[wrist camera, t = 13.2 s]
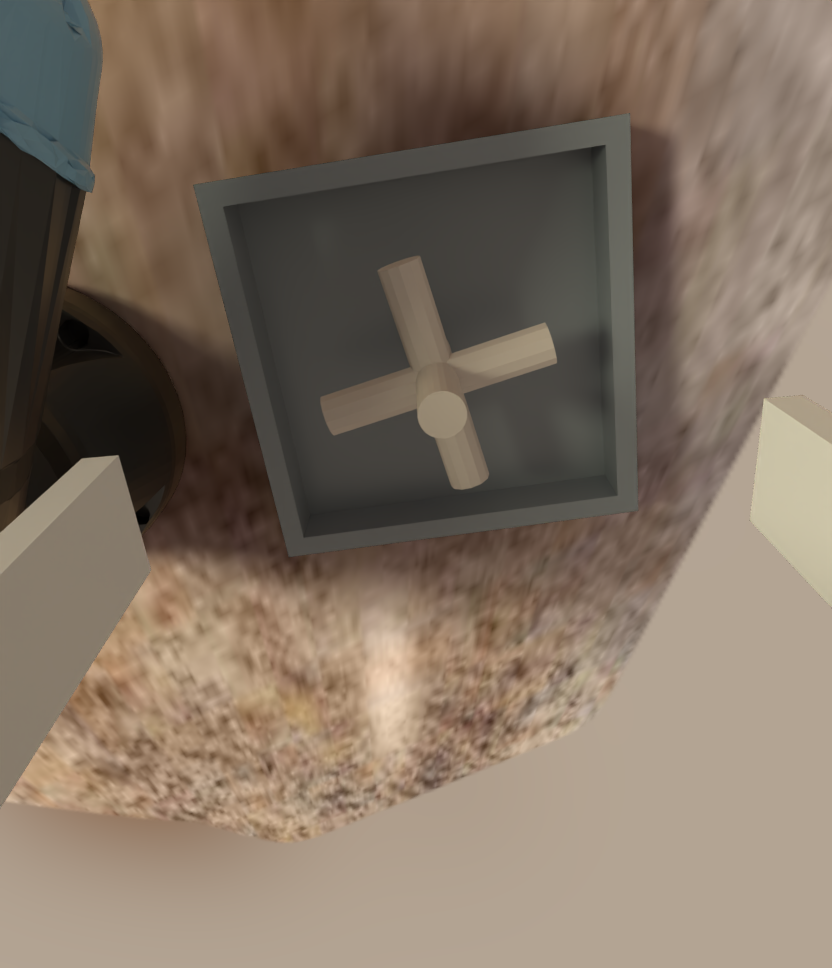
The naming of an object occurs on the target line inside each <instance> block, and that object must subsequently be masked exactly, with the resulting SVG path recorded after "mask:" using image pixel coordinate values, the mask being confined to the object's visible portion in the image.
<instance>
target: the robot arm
mask: <svg viewBox="0 0 832 968" xmlns="http://www.w3.org/2000/svg"><path fill="white" fill-rule="evenodd" d="M102 62H103V52H102V41H101V35H100V31H99V27H98V24H97V21H96V19H95V16H94V13H93V11H92V9H91V7H90V5H89V3H88V1H87V0H0V808H1V807H2V805H3V804H4V802H5V800H6V799H7V797H8V796H9V794H10V792H11V791H12V789H13V788H14V786H15V785H16V783H17V781H18V780H19V778H20V777H21V775H22V773H23V772H24V770H25V769H26V767H27V766H28V764H29V762H30V761H31V759H32V758H33V756H34V755H35V753H36V751H37V750H38V748H39V747H40V745H41V743H42V742H43V740H44V739H45V737H46V736H47V734H48V732H49V731H50V729H51V728H52V726H53V725H54V723H55V721H56V720H57V718H58V717H59V715H60V713H61V712H62V710H63V709H64V707H65V706H66V704H67V702H68V701H69V699H70V698H71V696H72V695H73V693H74V691H75V690H76V688H77V687H78V685H79V683H80V682H81V680H82V679H83V677H84V676H85V674H86V672H87V671H88V669H89V668H90V666H91V664H92V663H93V661H94V660H95V658H96V657H97V655H98V653H99V652H100V650H101V649H102V647H103V646H104V644H105V642H106V641H107V639H108V638H109V636H110V634H111V633H112V631H113V630H114V628H115V627H116V625H117V623H118V622H119V620H120V619H121V617H122V616H123V614H124V612H125V611H126V609H127V608H128V606H129V604H130V603H131V601H132V600H133V598H134V597H135V595H136V593H137V592H138V590H139V589H140V587H141V586H142V584H143V582H144V581H145V579H146V578H147V576H148V574H149V573H150V571H151V567H150V564H149V560H148V557H147V553H146V550H145V546H144V543H143V539H142V535H143V534H144V533H145V532H146V531H147V530H148V529H149V528H150V526H151V525H152V524H153V523H154V521H155V520H156V519H157V517H158V516H159V515H160V513H161V512H162V510H163V509H164V508H165V506H166V505H167V503H168V502H169V500H170V499H171V497H172V495H173V493H174V492H175V490H176V487H177V485H178V483H179V480H180V477H181V474H182V470H183V466H184V460H185V452H186V433H185V424H184V418H183V413H182V409H181V405H180V402H179V399H178V396H177V393H176V391H175V389H174V386H173V384H172V382H171V380H170V378H169V376H168V374H167V372H166V371H165V369H164V367H163V365H162V364H161V362H160V361H159V359H158V358H157V356H156V355H155V354H154V352H153V351H152V350H151V349H150V347H149V346H148V345H147V344H146V342H145V341H144V340H143V339H142V338H141V337H140V336H139V335H138V334H137V333H136V332H135V331H134V330H133V329H132V328H131V327H130V326H129V325H128V324H127V323H125V322H124V321H123V320H122V319H121V318H120V317H118V316H117V315H116V314H114V313H113V312H112V311H110V310H109V309H107V308H106V307H104V306H103V305H101V304H100V303H98V302H96V301H94V300H93V299H91V298H89V297H87V296H85V295H83V294H81V293H79V292H77V291H74V290H72V289H70V288H67V283H68V278H69V273H70V268H71V263H72V258H73V253H74V248H75V244H76V239H77V234H78V229H79V224H80V219H81V214H82V209H83V205H84V200H85V195H86V192H91V193H92V190H93V187H94V181H95V175H94V174H93V172H92V171H91V169H90V159H91V151H92V142H93V133H94V124H95V115H96V107H97V99H98V92H99V85H100V78H101V72H102ZM750 521H751V522H752V523H753V525H754V526H755V527H756V528H757V529H758V530H759V531H760V532H761V533H762V534H763V535H764V536H765V537H766V538H767V540H768V541H769V542H770V543H771V544H772V545H773V546H774V547H775V548H776V549H777V550H778V551H779V552H780V553H781V555H782V556H784V558H785V559H786V560H787V561H788V562H789V563H790V564H791V565H792V566H793V567H794V568H795V569H796V570H797V572H798V573H799V574H800V575H801V576H802V577H803V578H804V579H805V580H806V581H807V582H808V583H809V584H810V585H811V587H813V589H814V590H815V591H816V592H817V593H818V594H819V595H820V596H821V597H822V598H823V599H824V600H825V601H826V602H827V604H828V605H829V606H830V607H831V608H832V412H830V411H828V410H827V409H825V408H823V407H822V406H820V405H818V404H817V403H815V402H813V401H812V400H810V399H808V398H807V397H805V396H803V395H799V396H787V397H775V398H764V402H763V411H762V419H761V428H760V437H759V445H758V454H757V462H756V471H755V480H754V488H753V497H752V505H751V513H750Z"/></svg>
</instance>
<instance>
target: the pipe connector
mask: <svg viewBox="0 0 832 968" xmlns="http://www.w3.org/2000/svg"><path fill="white" fill-rule="evenodd" d="M377 272H378V275H379V278H380V281H381V283H382V286H383V289H384V292H385V295H386V298H387V301H388V304H389V307H390V310H391V312H392V315H393V318H394V321H395V324H396V327H397V330H398V333H399V336H400V339H401V342H402V344H403V347H404V350H405V353H406V356H407V359H408V362H409V365H410V367H409V368H406V369H403V370H400V371H397V372H394V373H391V374H388V375H385V376H382V377H379V378H376V379H373V380H370V381H367V382H364V383H361V384H358V385H355V386H352V387H349V388H346V389H343V390H340V391H337V392H334V393H331V394H328V395H325V396H322V397H320V403H321V408H322V412H323V415H324V418H325V421H326V424H327V426H328V428H329V430H330V432H331V433H332V434H333V435H337V434H340V433H344V432H347V431H350V430H353V429H356V428H359V427H362V426H365V425H368V424H371V423H374V422H377V421H380V420H384V419H387V418H390V417H393V416H396V415H399V414H402V413H405V412H408V411H411V410H414V409H417V417H418V422H419V424H420V426H421V428H422V429H423V430H424V432H425V433H427V434H428V435H430V436H432V437H435V440H436V443H437V446H438V449H439V452H440V455H441V458H442V461H443V464H444V466H445V469H446V472H447V475H448V478H449V481H450V484H451V486H452V487H453V488H454V489H460V490H463V489H468V488H473V487H475V486H477V485H480V484H482V483H483V482H484V481H485V480H487V479H488V476H489V471H488V468H487V465H486V462H485V459H484V456H483V453H482V449H481V446H480V443H479V440H478V437H477V434H476V431H475V427H474V424H473V421H472V418H471V415H470V412H469V408H468V405H467V402H466V399H465V396H464V393H467V392H470V391H473V390H476V389H479V388H482V387H485V386H488V385H491V384H494V383H497V382H501V381H504V380H507V379H510V378H513V377H516V376H519V375H522V374H525V373H528V372H531V371H534V370H538V369H541V368H544V367H547V366H550V365H553V364H556V363H557V357H556V352H555V348H554V344H553V341H552V338H551V335H550V332H549V329H548V327H547V325H546V323H541V324H538V325H535V326H532V327H529V328H526V329H523V330H520V331H517V332H514V333H511V334H508V335H505V336H502V337H499V338H496V339H493V340H490V341H487V342H484V343H481V344H478V345H475V346H472V347H469V348H466V349H463V350H460V351H457V352H454V353H452V352H451V348H450V345H449V343H448V341H447V339H446V336H445V333H444V330H443V327H442V324H441V320H440V317H439V314H438V311H437V308H436V305H435V301H434V298H433V295H432V292H431V289H430V286H429V283H428V279H427V276H426V273H425V270H424V267H423V264H422V261H421V257H420V256H413V257H409V258H406V259H403V260H400V261H397V262H394V263H392V264H389V265H387V266H385V267H382V268H380V269H379V270H378V271H377Z"/></svg>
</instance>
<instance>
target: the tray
mask: <svg viewBox="0 0 832 968" xmlns="http://www.w3.org/2000/svg"><path fill="white" fill-rule="evenodd" d="M193 186H194V190H195V194H196V198H197V202H198V205H199V209H200V213H201V217H202V221H203V225H204V229H205V233H206V237H207V241H208V244H209V248H210V252H211V256H212V260H213V264H214V268H215V272H216V276H217V279H218V283H219V287H220V291H221V295H222V299H223V303H224V307H225V311H226V314H227V318H228V322H229V326H230V330H231V334H232V338H233V342H234V346H235V350H236V353H237V357H238V361H239V365H240V369H241V373H242V377H243V381H244V385H245V388H246V392H247V396H248V400H249V404H250V408H251V412H252V416H253V420H254V423H255V427H256V431H257V435H258V439H259V443H260V447H261V451H262V455H263V459H264V462H265V466H266V470H267V474H268V478H269V482H270V486H271V490H272V494H273V497H274V501H275V505H276V509H277V513H278V517H279V521H280V525H281V529H282V532H283V536H284V540H285V544H286V548H287V552H288V556H289V557H294V556H301V555H309V554H316V553H324V552H331V551H339V550H347V549H354V548H362V547H369V546H377V545H384V544H392V543H399V542H407V541H414V540H422V539H429V538H437V537H445V536H452V535H460V534H467V533H475V532H482V531H490V530H497V529H505V528H512V527H520V526H527V525H535V524H543V523H550V522H558V521H565V520H573V519H580V518H588V517H595V516H603V515H610V514H618V513H625V512H633V511H638V474H637V425H636V377H635V328H634V279H633V231H632V182H631V134H630V113H628V114H622V115H616V116H610V117H604V118H598V119H592V120H586V121H579V122H573V123H567V124H561V125H555V126H549V127H543V128H537V129H531V130H525V131H518V132H512V133H506V134H500V135H494V136H488V137H482V138H476V139H470V140H464V141H457V142H451V143H445V144H439V145H433V146H427V147H421V148H415V149H409V150H403V151H396V152H390V153H384V154H378V155H372V156H366V157H360V158H354V159H348V160H342V161H335V162H329V163H323V164H317V165H311V166H305V167H299V168H293V169H287V170H281V171H274V172H268V173H262V174H256V175H250V176H244V177H238V178H232V179H226V180H220V181H214V182H207V183H201V184H195V185H193ZM413 256H420V257H421V261H422V264H423V267H424V270H425V273H426V276H427V279H428V283H429V286H430V289H431V292H432V295H433V298H434V301H435V305H436V308H437V311H438V314H439V317H440V320H441V324H442V327H443V330H444V333H445V336H446V339H447V341H448V343H449V345H450V348H451V352H452V353H454V352H457V351H460V350H463V349H466V348H469V347H472V346H475V345H478V344H481V343H484V342H487V341H490V340H493V339H496V338H499V337H502V336H505V335H508V334H511V333H514V332H517V331H520V330H523V329H526V328H529V327H532V326H535V325H538V324H541V323H546V325H547V327H548V329H549V332H550V335H551V338H552V341H553V344H554V348H555V352H556V357H557V363H556V364H553V365H550V366H547V367H544V368H541V369H538V370H534V371H531V372H528V373H525V374H522V375H519V376H516V377H513V378H510V379H507V380H504V381H501V382H497V383H494V384H491V385H488V386H485V387H482V388H479V389H476V390H473V391H470V392H467V393H464V396H465V399H466V402H467V405H468V408H469V412H470V415H471V418H472V421H473V424H474V427H475V431H476V434H477V437H478V440H479V443H480V446H481V449H482V453H483V456H484V459H485V462H486V465H487V468H488V471H489V476H488V479H487V480H485V481H484V482H483V483H482V484H480V485H477V486H475V487H473V488H468V489H463V490H460V489H454V488H453V487H452V486H451V484H450V481H449V478H448V475H447V472H446V469H445V466H444V464H443V461H442V458H441V455H440V452H439V449H438V446H437V443H436V440H435V437H432V436H430V435H428V434H427V433H425V432H424V430H423V429H422V428H421V426H420V424H419V422H418V417H417V409H414V410H411V411H408V412H405V413H402V414H399V415H396V416H393V417H390V418H387V419H384V420H380V421H377V422H374V423H371V424H368V425H365V426H362V427H359V428H356V429H353V430H350V431H347V432H344V433H340V434H337V435H333V434H332V433H331V432H330V430H329V428H328V426H327V424H326V421H325V418H324V415H323V412H322V408H321V403H320V397H322V396H325V395H328V394H331V393H334V392H337V391H340V390H343V389H346V388H349V387H352V386H355V385H358V384H361V383H364V382H367V381H370V380H373V379H376V378H379V377H382V376H385V375H388V374H391V373H394V372H397V371H400V370H403V369H406V368H409V367H410V365H409V362H408V359H407V356H406V353H405V350H404V347H403V344H402V342H401V339H400V336H399V333H398V330H397V327H396V324H395V321H394V318H393V315H392V312H391V310H390V307H389V304H388V301H387V298H386V295H385V292H384V289H383V286H382V283H381V281H380V278H379V275H378V272H377V271H378V270H379V269H380V268H382V267H385V266H387V265H389V264H392V263H394V262H397V261H400V260H403V259H406V258H409V257H413Z"/></svg>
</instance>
